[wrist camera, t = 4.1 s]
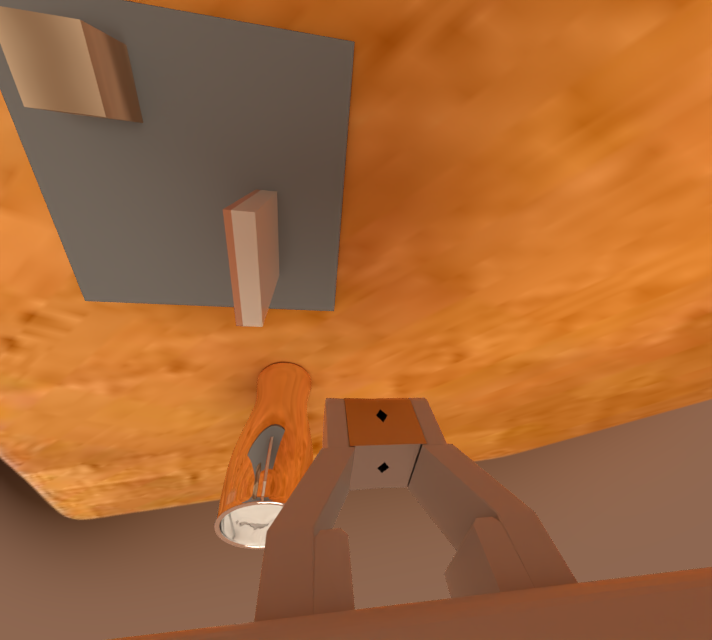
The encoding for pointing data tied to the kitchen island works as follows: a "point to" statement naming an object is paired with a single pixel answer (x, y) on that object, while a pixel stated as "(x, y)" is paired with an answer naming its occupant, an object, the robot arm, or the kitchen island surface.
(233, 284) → the tile
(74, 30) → the beech cube
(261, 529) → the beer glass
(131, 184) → the mat
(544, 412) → the kitchen island surface
